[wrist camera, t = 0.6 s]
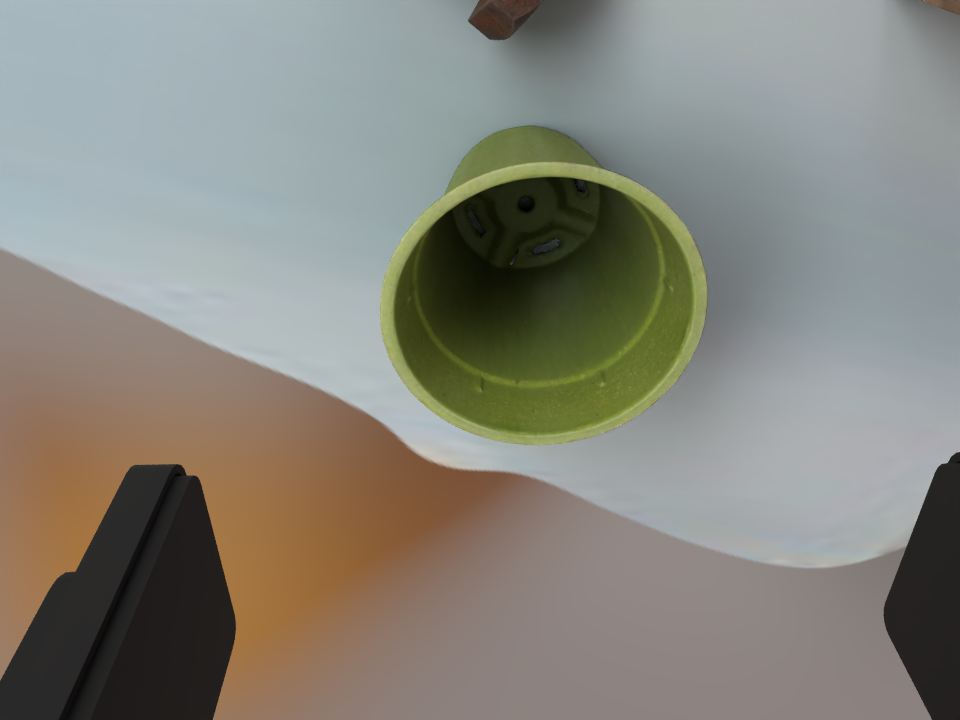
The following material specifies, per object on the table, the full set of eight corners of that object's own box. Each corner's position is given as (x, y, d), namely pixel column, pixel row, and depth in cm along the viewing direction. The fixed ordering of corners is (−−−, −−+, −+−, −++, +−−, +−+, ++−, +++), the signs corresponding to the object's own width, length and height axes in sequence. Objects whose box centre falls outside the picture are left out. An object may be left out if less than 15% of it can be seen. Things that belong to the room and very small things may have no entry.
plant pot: (352, 222, 40) (316, 346, 31) (507, 15, 35) (522, 87, 26) (539, 349, 44) (559, 493, 35) (702, 180, 39) (778, 294, 30)
